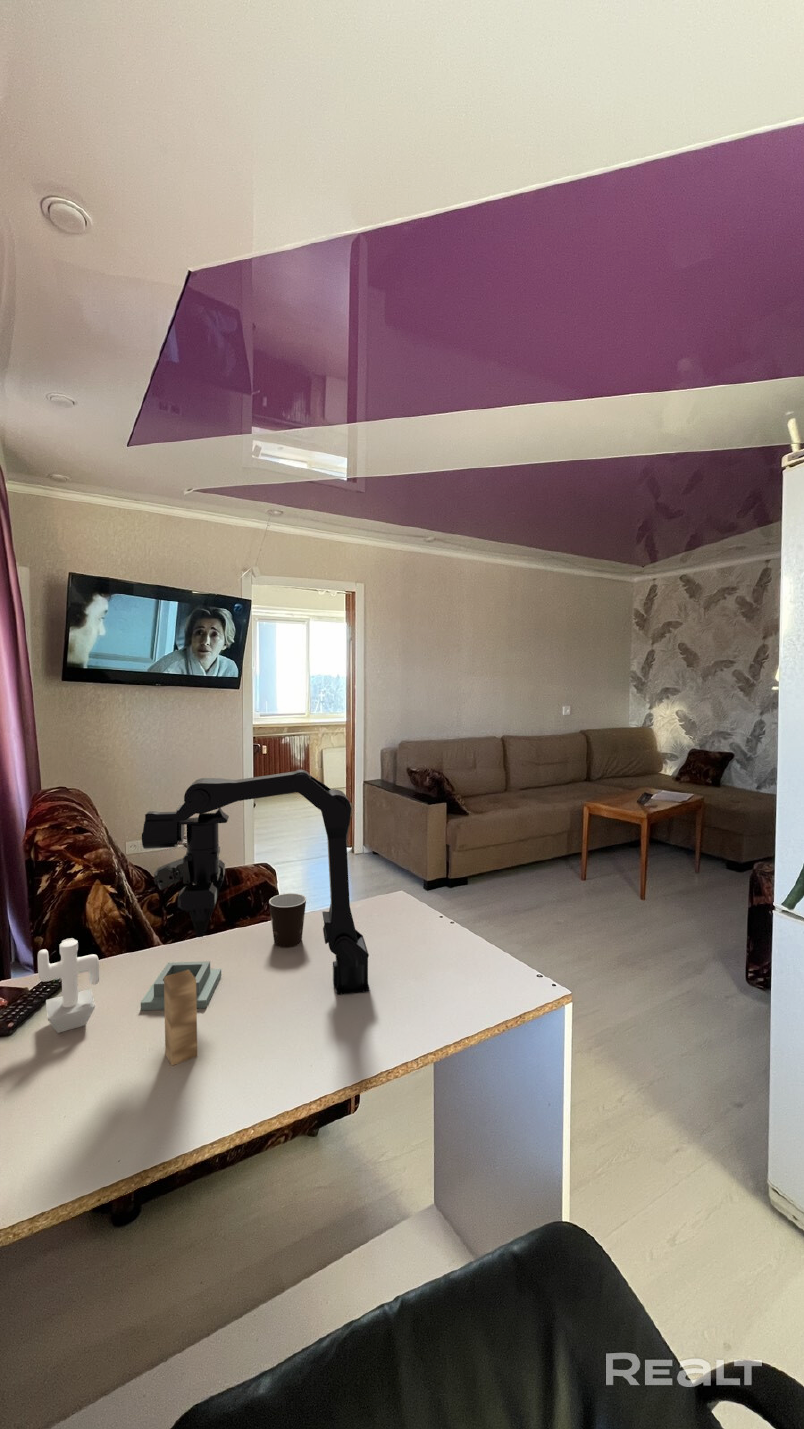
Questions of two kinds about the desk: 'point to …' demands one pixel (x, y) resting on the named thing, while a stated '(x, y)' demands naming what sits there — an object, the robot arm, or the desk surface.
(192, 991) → the oak stick
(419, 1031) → the desk surface
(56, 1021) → the figurine
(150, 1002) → the socket holder
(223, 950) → the desk surface
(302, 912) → the brown paper cup
